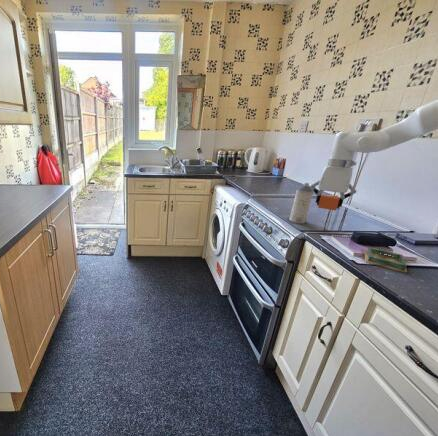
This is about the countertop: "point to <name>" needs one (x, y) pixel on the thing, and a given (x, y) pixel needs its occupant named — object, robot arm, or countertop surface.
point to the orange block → (328, 202)
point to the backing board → (385, 259)
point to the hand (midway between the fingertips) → (327, 205)
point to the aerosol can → (301, 204)
